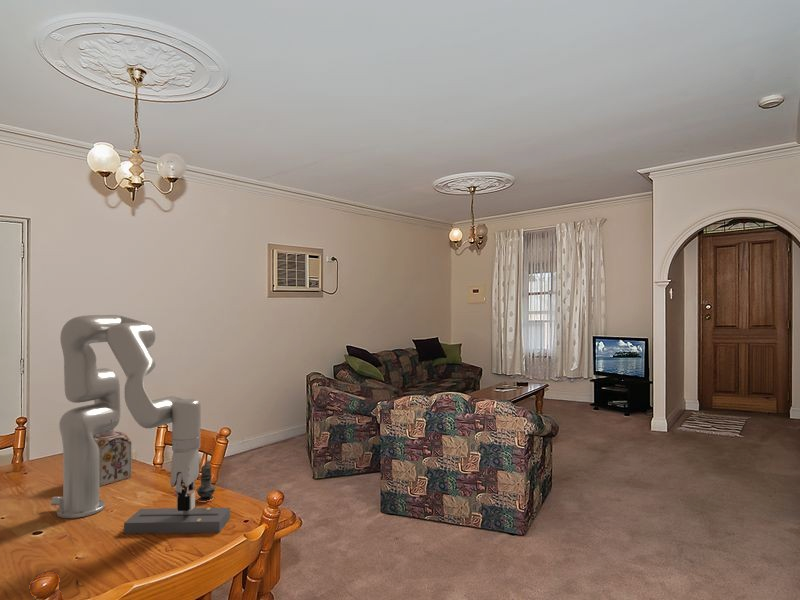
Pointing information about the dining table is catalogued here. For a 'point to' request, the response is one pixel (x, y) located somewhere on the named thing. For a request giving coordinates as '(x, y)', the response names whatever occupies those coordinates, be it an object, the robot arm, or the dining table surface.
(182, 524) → the console
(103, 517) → the dining table surface
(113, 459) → the decorative jar
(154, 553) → the dining table surface
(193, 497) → the fader
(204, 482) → the dark chess piece
